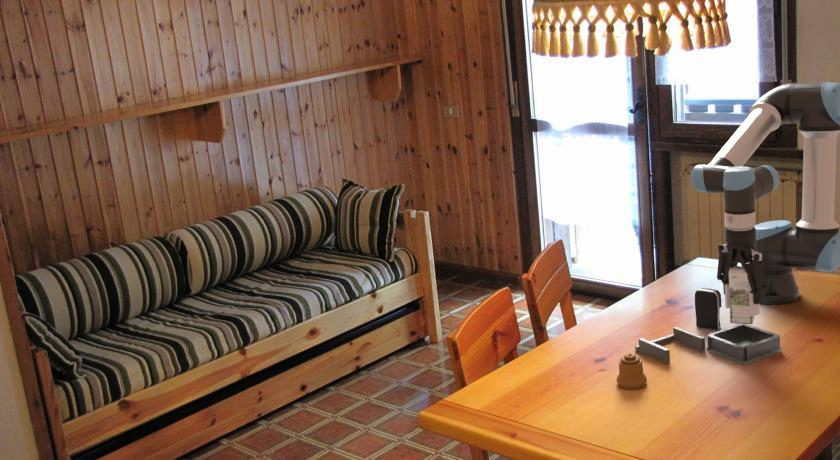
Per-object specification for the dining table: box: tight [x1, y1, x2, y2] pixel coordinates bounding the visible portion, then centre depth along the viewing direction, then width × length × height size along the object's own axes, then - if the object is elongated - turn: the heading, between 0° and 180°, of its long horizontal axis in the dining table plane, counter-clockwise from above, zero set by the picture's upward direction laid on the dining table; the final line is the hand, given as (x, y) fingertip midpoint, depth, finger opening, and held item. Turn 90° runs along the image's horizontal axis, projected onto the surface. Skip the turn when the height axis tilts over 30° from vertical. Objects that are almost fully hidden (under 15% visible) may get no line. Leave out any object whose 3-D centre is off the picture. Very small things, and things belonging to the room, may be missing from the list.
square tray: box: [705, 324, 783, 366], centre depth 247 cm, size 13×13×4 cm
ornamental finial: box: [616, 353, 648, 390], centre depth 235 cm, size 8×8×8 cm
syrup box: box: [729, 265, 756, 325], centre depth 244 cm, size 6×6×14 cm
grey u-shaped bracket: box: [634, 326, 706, 365], centre depth 253 cm, size 13×13×4 cm
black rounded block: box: [694, 287, 722, 331], centre depth 266 cm, size 7×4×11 cm, turn 46°
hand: (742, 310), depth 245 cm, fingers closed on syrup box, 8 cm apart
